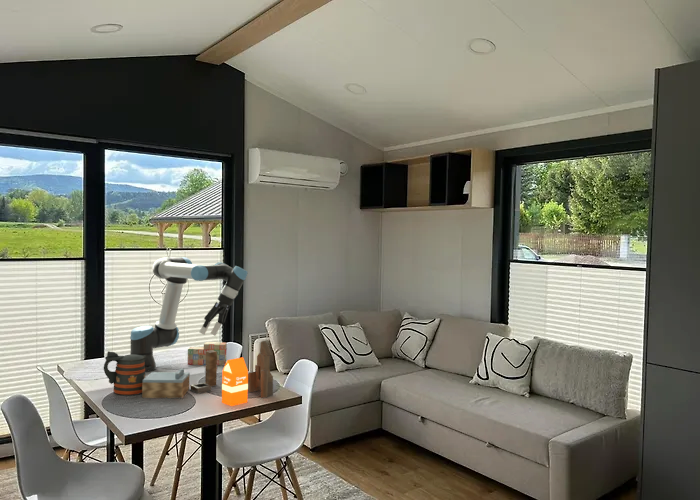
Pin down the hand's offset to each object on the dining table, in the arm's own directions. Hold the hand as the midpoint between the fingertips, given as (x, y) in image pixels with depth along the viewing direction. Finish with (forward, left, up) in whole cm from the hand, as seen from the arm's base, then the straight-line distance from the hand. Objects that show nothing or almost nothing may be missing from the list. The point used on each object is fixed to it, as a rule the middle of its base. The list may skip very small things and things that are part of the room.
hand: (207, 334), depth 267 cm
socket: (-1, -7, -26) cm, 27 cm away
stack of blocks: (-9, +48, -27) cm, 55 cm away
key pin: (+2, +3, -26) cm, 26 cm away
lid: (-16, -12, -19) cm, 28 cm away
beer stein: (-36, -10, -27) cm, 46 cm away
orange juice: (+18, -25, -27) cm, 41 cm away
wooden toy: (+28, -11, -27) cm, 40 cm away
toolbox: (-16, -12, -26) cm, 33 cm away
